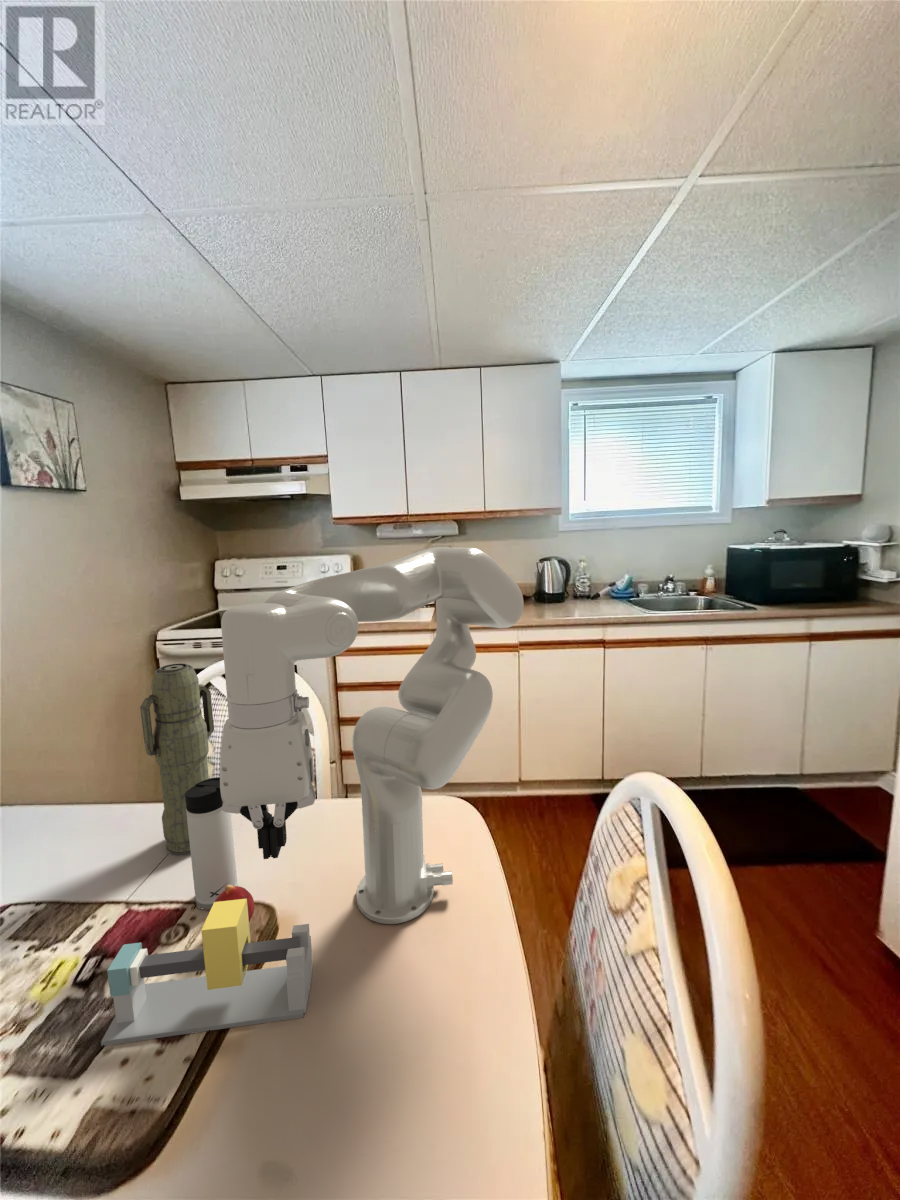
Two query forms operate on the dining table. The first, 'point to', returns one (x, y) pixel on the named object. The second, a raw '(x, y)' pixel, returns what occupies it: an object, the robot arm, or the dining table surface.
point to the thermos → (178, 744)
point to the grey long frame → (189, 1000)
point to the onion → (237, 897)
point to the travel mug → (210, 842)
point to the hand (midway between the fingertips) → (273, 850)
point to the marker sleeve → (225, 943)
